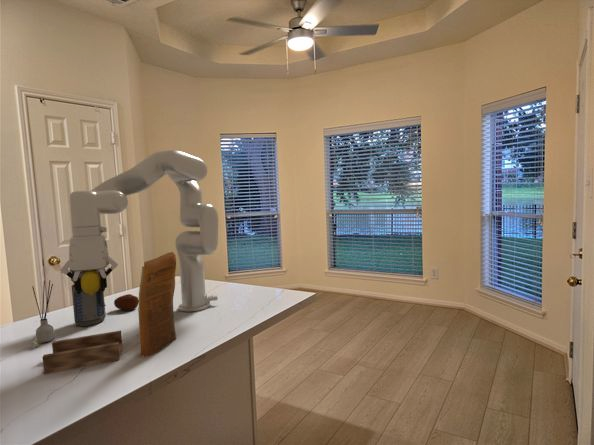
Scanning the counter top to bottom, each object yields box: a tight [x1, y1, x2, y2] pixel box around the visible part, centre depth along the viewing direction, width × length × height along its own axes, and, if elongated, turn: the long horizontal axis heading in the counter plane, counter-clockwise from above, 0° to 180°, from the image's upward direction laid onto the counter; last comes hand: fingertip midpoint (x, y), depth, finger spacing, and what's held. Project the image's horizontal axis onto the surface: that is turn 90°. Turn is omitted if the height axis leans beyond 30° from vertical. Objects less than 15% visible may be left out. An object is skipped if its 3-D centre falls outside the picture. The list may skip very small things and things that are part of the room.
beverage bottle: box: [69, 269, 107, 327], centre depth 135 cm, size 10×13×25 cm
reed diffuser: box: [29, 280, 55, 349], centre depth 117 cm, size 10×7×20 cm
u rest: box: [41, 330, 123, 375], centre depth 104 cm, size 18×12×5 cm, turn 112°
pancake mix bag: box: [137, 251, 177, 358], centre depth 110 cm, size 7×19×28 cm, turn 165°
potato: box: [113, 293, 139, 311], centre depth 150 cm, size 7×9×6 cm
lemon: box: [80, 270, 101, 295], centre depth 109 cm, size 6×6×8 cm
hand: (91, 291), depth 109 cm, fingers closed on lemon, 5 cm apart
